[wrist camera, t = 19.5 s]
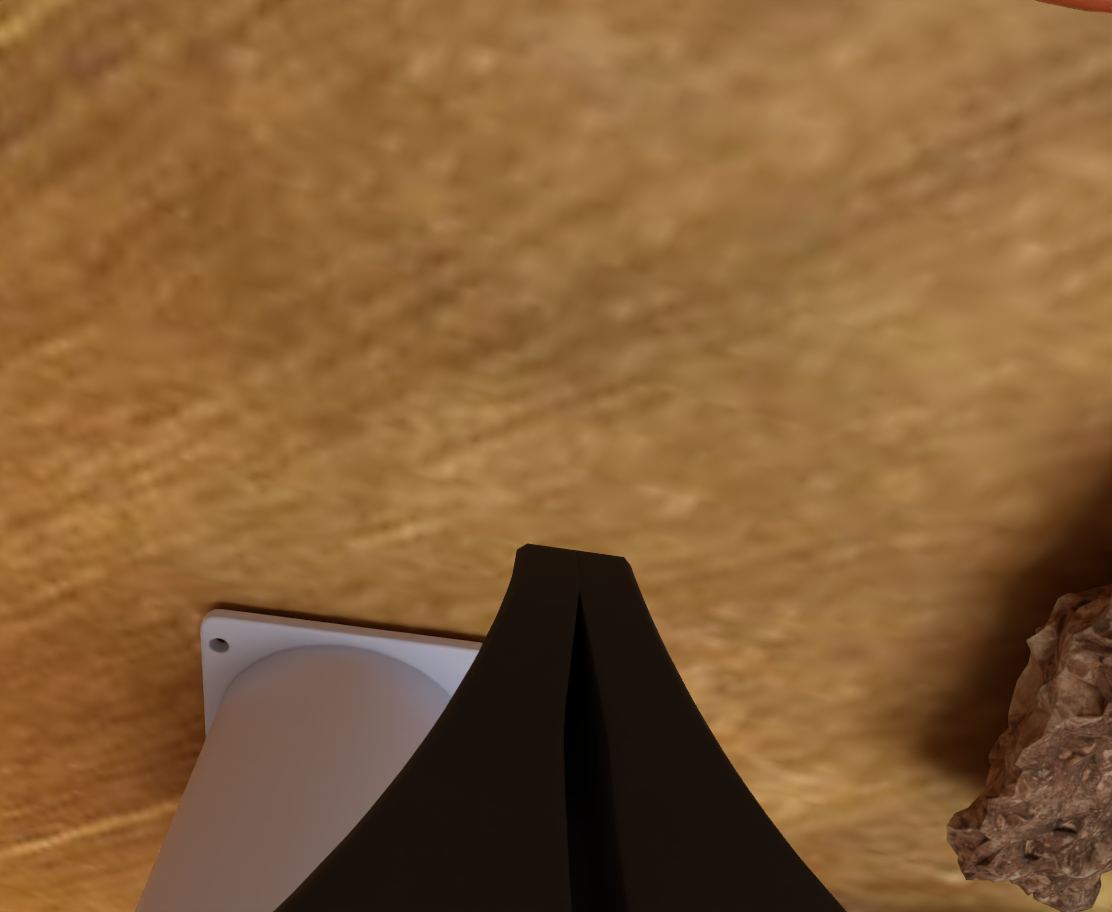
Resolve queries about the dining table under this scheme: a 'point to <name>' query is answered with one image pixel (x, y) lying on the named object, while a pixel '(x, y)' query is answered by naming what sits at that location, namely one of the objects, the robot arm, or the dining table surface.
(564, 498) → the dining table surface
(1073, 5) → the mug
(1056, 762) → the rock
